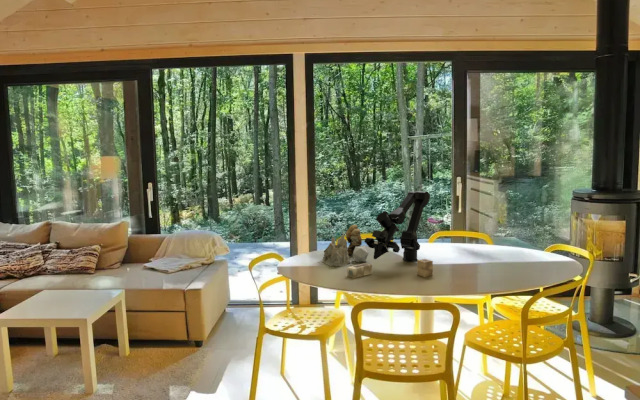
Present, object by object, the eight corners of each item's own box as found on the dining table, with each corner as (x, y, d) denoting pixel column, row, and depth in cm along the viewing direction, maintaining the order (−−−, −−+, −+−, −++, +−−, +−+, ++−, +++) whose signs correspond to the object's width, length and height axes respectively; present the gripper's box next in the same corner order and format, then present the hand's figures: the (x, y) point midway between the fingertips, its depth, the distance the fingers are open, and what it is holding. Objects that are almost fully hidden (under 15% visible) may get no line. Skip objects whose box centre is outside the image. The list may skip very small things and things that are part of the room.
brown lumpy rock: (367, 257, 254) (367, 227, 253) (346, 257, 254) (346, 227, 252) (364, 250, 272) (364, 222, 271) (344, 250, 272) (344, 222, 270)
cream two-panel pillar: (365, 262, 222) (347, 267, 214) (371, 264, 218) (353, 268, 211) (365, 272, 222) (347, 276, 215) (371, 273, 219) (353, 278, 211)
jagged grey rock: (328, 257, 254) (328, 231, 251) (355, 261, 246) (355, 234, 243) (314, 265, 240) (314, 237, 238) (341, 270, 232) (341, 241, 230)
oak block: (425, 273, 218) (425, 258, 218) (432, 275, 214) (432, 260, 213) (417, 274, 216) (417, 259, 215) (424, 276, 212) (424, 262, 211)
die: (363, 265, 239) (372, 249, 241) (349, 256, 240) (358, 241, 242) (362, 266, 246) (370, 251, 249) (348, 258, 248) (357, 243, 250)
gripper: (366, 222, 232) (352, 246, 226) (396, 225, 219) (381, 252, 213) (376, 234, 239) (363, 259, 232) (405, 239, 225) (392, 265, 219)
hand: (374, 258), depth 224 cm, fingers closed
